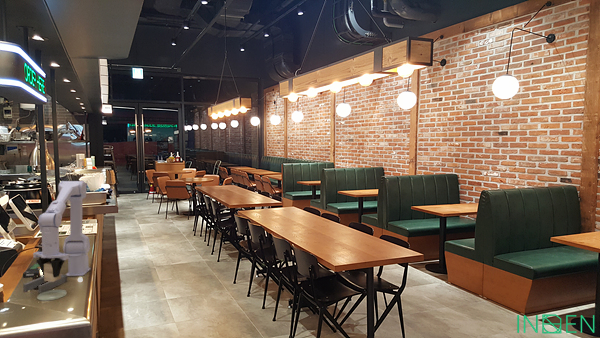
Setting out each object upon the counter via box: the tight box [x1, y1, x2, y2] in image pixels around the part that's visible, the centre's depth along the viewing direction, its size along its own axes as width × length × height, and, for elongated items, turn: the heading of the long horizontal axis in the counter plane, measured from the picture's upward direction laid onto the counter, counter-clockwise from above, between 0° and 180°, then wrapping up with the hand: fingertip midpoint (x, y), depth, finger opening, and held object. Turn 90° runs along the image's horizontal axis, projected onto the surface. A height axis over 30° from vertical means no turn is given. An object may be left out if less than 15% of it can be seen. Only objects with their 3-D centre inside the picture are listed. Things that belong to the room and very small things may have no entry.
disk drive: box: [22, 262, 41, 279], centre depth 183 cm, size 10×3×15 cm
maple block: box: [44, 262, 62, 282], centre depth 156 cm, size 4×4×7 cm
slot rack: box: [22, 273, 68, 294], centre depth 166 cm, size 14×8×3 cm, turn 169°
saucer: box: [36, 288, 68, 302], centre depth 156 cm, size 10×10×1 cm
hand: (51, 276), depth 156 cm, fingers closed on maple block, 4 cm apart
